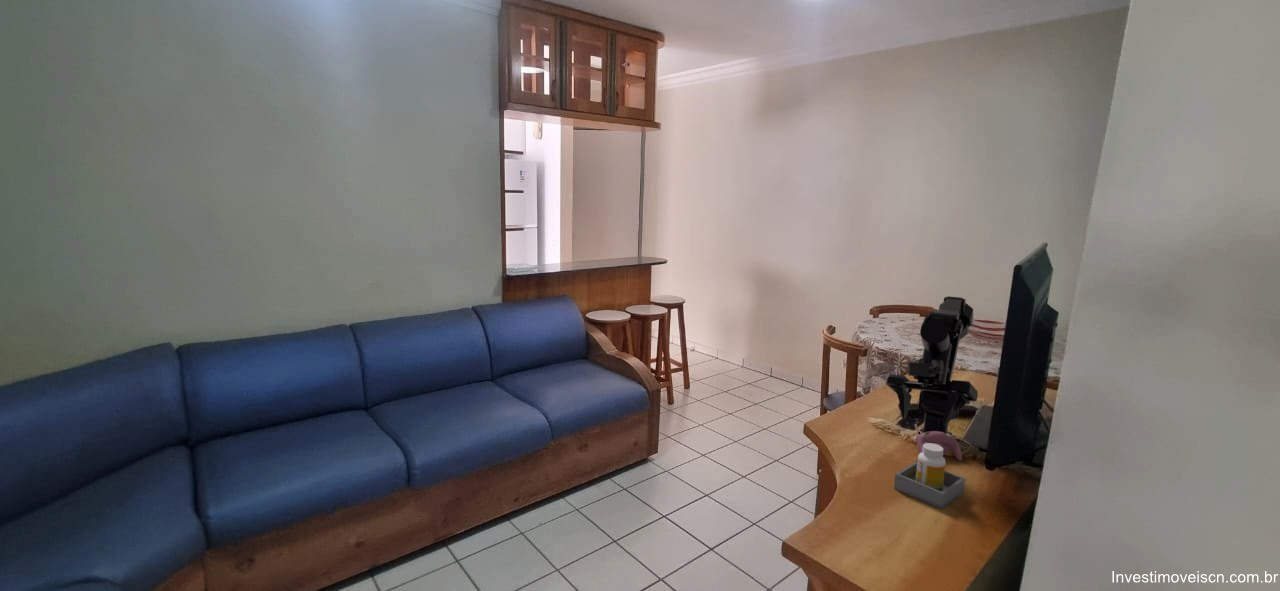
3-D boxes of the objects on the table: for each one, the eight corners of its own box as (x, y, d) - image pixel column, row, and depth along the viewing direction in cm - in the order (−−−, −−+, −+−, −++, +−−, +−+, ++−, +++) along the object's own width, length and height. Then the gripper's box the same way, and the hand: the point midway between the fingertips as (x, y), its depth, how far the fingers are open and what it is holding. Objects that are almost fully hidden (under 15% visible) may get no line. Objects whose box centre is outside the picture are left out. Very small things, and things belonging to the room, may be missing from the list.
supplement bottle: (947, 489, 119) (952, 448, 117) (933, 497, 116) (938, 455, 114) (923, 478, 123) (927, 439, 121) (909, 485, 120) (914, 445, 118)
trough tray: (916, 474, 126) (918, 460, 126) (963, 493, 118) (965, 478, 118) (893, 488, 120) (895, 473, 120) (941, 509, 112) (943, 494, 112)
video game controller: (955, 460, 136) (952, 432, 138) (964, 461, 131) (961, 431, 133) (915, 459, 137) (912, 430, 139) (922, 459, 132) (919, 430, 134)
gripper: (882, 344, 134) (869, 403, 129) (966, 348, 119) (954, 415, 114) (901, 362, 140) (889, 420, 135) (982, 368, 126) (972, 432, 121)
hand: (923, 421), depth 126 cm, fingers open, 9 cm apart
